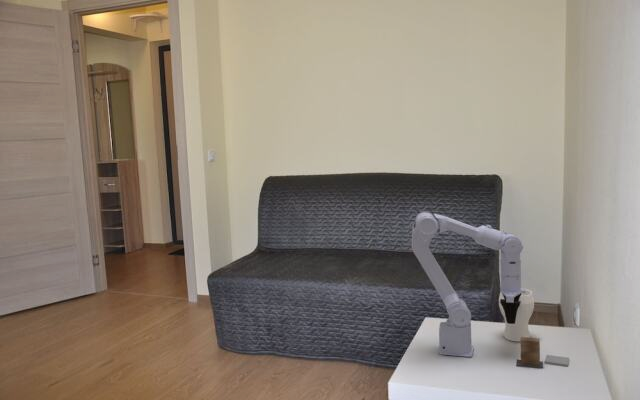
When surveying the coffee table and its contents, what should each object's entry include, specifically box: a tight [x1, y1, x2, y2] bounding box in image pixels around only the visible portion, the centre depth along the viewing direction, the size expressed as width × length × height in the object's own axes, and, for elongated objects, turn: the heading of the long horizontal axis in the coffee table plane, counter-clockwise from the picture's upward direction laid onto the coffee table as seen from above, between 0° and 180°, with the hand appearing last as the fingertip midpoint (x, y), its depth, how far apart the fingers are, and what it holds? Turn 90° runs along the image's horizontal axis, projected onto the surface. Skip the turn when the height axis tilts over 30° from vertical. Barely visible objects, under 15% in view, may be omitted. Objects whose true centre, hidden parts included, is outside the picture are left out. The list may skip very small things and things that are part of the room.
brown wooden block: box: [519, 337, 541, 366], centre depth 154 cm, size 5×2×7 cm, turn 69°
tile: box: [543, 354, 570, 368], centre depth 155 cm, size 1×5×6 cm
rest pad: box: [515, 358, 544, 369], centre depth 154 cm, size 7×4×1 cm, turn 69°
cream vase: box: [498, 287, 535, 342], centre depth 174 cm, size 11×11×15 cm
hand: (511, 319), depth 163 cm, fingers open, 7 cm apart
